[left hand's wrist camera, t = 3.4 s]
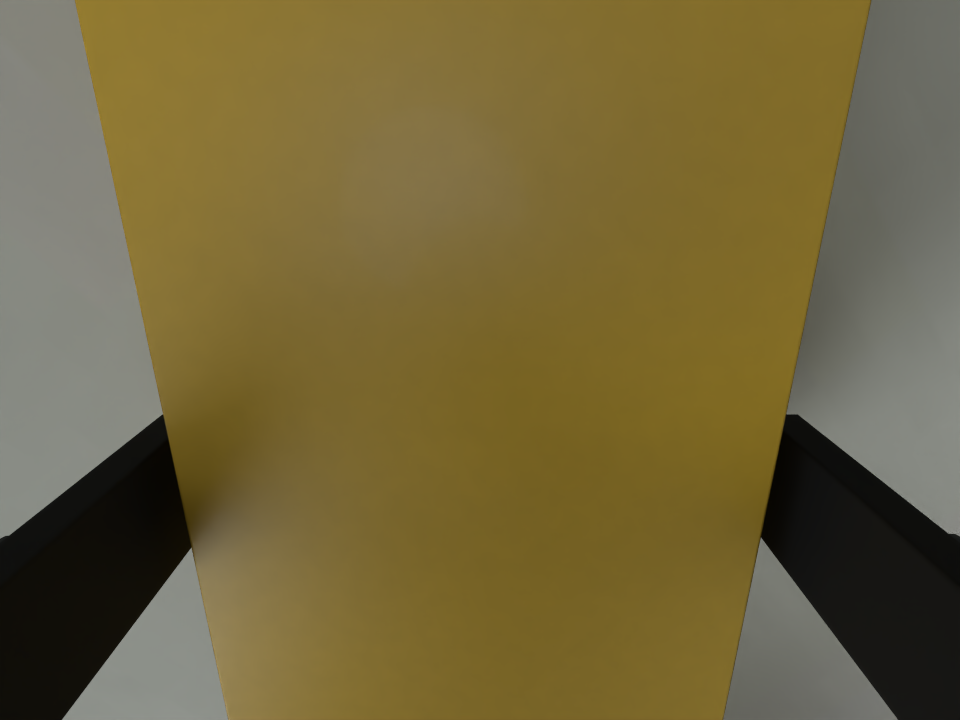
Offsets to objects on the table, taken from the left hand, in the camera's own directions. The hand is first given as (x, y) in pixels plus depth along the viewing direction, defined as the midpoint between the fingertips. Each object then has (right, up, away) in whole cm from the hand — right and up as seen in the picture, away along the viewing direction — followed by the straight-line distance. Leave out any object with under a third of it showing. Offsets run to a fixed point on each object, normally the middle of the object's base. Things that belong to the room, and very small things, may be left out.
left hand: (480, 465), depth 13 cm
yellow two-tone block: (0, +6, +4) cm, 7 cm away
